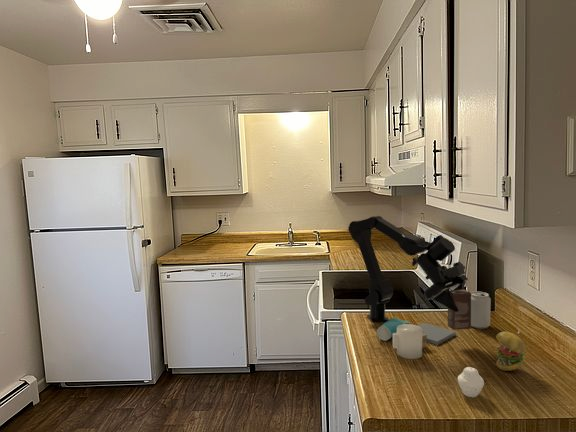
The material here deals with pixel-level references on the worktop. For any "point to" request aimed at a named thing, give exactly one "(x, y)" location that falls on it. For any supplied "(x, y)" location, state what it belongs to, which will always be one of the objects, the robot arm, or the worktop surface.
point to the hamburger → (509, 351)
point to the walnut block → (424, 340)
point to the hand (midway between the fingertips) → (463, 308)
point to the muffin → (470, 382)
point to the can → (480, 309)
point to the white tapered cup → (408, 341)
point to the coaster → (436, 333)
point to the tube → (389, 328)
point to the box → (460, 310)
